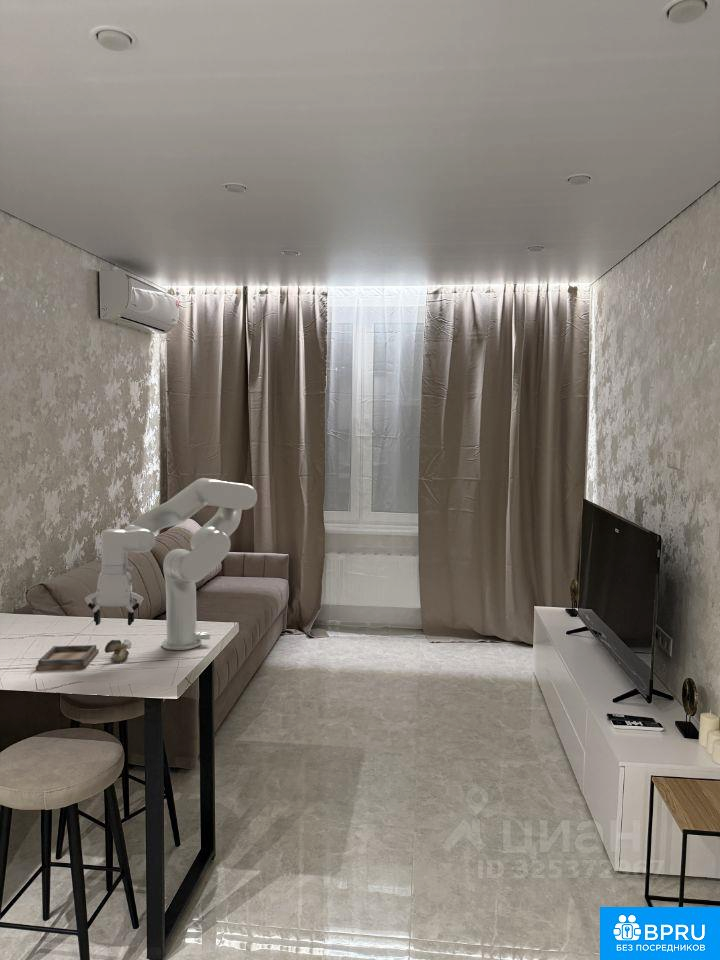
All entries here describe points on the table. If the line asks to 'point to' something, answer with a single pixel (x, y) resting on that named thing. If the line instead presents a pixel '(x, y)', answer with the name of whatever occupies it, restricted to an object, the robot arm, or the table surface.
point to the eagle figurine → (118, 650)
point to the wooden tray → (67, 657)
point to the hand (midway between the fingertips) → (114, 624)
